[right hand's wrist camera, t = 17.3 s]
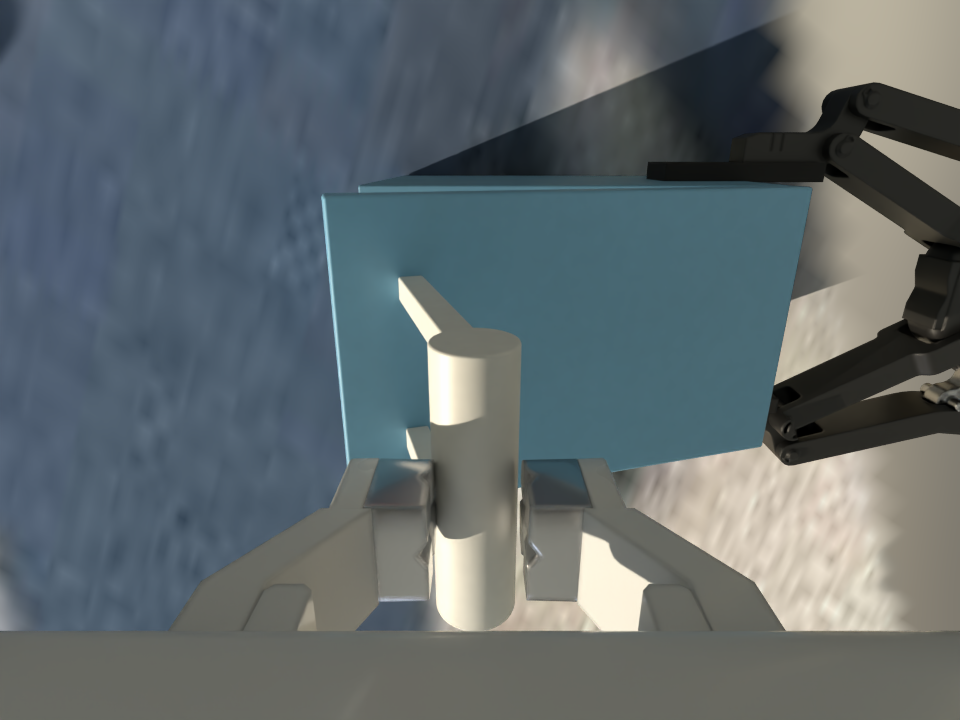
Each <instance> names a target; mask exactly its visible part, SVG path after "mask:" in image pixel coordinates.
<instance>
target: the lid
mask: <svg viewBox="0 0 960 720" xmlns="http://www.w3.org/2000/svg"><path fill="white" fill-rule="evenodd" d="M811 194H812V188H811V187H805V186H787V185H784V186H725V187H666V188H608V189H549V190H490V191H432V192H373V193H324V194H322V197H321V198H322V208H323V218H324V229H325V239H326V250H327V260H328V271H329V281H330V292H331V302H332V313H333V323H334V334H335V344H336V355H337V365H338V376H339V386H340V397H341V407H342V418H343V428H344V439H345V449H346V459H347V466H348V464H349V461H350V460H351V459H354V458H379V459H381V458H384V459H434V461H435V482H436V484H435V492H434V500H435V503H436V515H437V531H436V547H435V576H436V604H437V608H438V611H439V613H440V615H441V616H442V618H443V619H444V620H445V621H446V622H447V623H449V624H450V625H452V626H453V627H455V628H458V629H461V630H464V631H486V630H490V629H493V628H495V627H497V626H499V625H501V624H502V623H503V622H505V621H506V620H507V619H508V617H509V616H510V614H511V613H512V611H513V608H514V603H515V570H516V533H517V495H518V488H520V487H521V463H522V460H538V459H585V458H604V459H605V460H606V462H607V464H608V466H609V469H610V471H611V472H615V471H621V470H627V469H633V468H639V467H644V466H650V465H656V464H662V463H668V462H674V461H680V460H686V459H692V458H698V457H704V456H710V455H715V454H721V453H727V452H733V451H739V450H745V449H751V448H757V447H761V446H762V442H763V437H764V432H765V427H766V422H767V417H768V412H769V407H770V402H771V397H772V392H773V387H774V381H775V376H776V371H777V366H778V361H779V356H780V351H781V346H782V341H783V336H784V331H785V326H786V321H787V316H788V311H789V306H790V300H791V295H792V290H793V285H794V280H795V275H796V270H797V265H798V260H799V255H800V250H801V245H802V240H803V235H804V230H805V225H806V219H807V214H808V209H809V204H810V199H811Z"/></svg>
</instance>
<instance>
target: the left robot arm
mask: <svg viewBox="0 0 960 720" xmlns="http://www.w3.org/2000/svg"><path fill="white" fill-rule="evenodd" d="M863 130H864V131H867V132H870V133H873V134H876V135H880V136H883V137H886V138H889V139H892V140H895V141H898V142H901V143H905V144H908V145H911V146H914V147H917V148H920V149H923V150H927V151H930V152H933V153H936V154H939V155H942V156H945V157H948V158H951V159H954V160H958V161H960V109H957V108H954V107H951V106H948V105H945V104H942V103H939V102H936V101H933V100H930V99H927V98H924V97H921V96H918V95H915V94H912V93H909V92H906V91H903V90H900V89H897V88H893V87H890V86H887V85H884V84H881V83H868V84H863V85H858V86H853V87H848V88H843V89H838V90H835V91H832V92H830V93H829V94H828V95H827V96H826V97H825V99H824V100H823V103H822V115H821V117H820V119H819V121H818V122H817V124H816V125H815V126H814V127H813V128H812V129H811V130H809V131H808V132H785V133H783V132H774V133H773V132H759V133H749V134H743V135H741V136H738V137H736V138H733V139H732V145H731V152H730V159H729V162H648V168H647V178H646V179H651V180H658V181H748V182H823V179H824V176H825V177H827V178H828V179H830V180H831V181H833V182H834V183H836V184H837V185H839V186H840V187H842V188H843V189H845V190H846V191H848V192H849V193H851V194H852V195H854V196H855V197H857V198H858V199H860V200H861V201H863V202H864V203H866V204H867V205H869V206H870V207H872V208H873V209H875V210H876V211H878V212H879V213H881V214H882V215H884V216H885V217H887V218H888V219H890V220H891V221H893V222H894V223H896V224H897V225H899V226H900V227H902V228H903V229H904V230H905V231H904V233H905V234H907V235H908V236H909V237H911V238H912V239H914V240H915V241H917V242H918V243H920V244H921V245H923V246H924V247H926V248H927V249H929V250H928V251H927V253H926V254H920V255H919V258H918V261H917V265H916V269H915V288H914V290H913V291H912V293H911V295H910V297H909V299H908V300H907V302H906V305H905V309H904V313H903V316H902V318H904V320H902V321H899V322H897V323H895V324H893V325H891V326H888V327H886V328H884V329H882V330H880V331H879V332H878V334H877V338H875V339H874V340H871V341H869V342H867V343H865V344H863V345H861V346H858V347H856V348H854V349H852V350H850V351H848V352H845V353H843V354H841V355H839V356H837V357H835V358H832V359H830V360H828V361H826V362H824V363H822V364H820V365H817V366H815V367H813V368H811V369H809V370H807V371H804V372H802V373H800V374H798V375H796V376H794V377H791V378H789V379H787V380H785V381H783V382H781V383H779V384H776V385H774V387H773V392H772V397H771V402H770V407H769V412H768V417H767V422H766V427H765V432H764V437H763V443H764V444H765V445H766V446H767V447H768V448H769V449H770V450H771V451H772V452H773V453H774V454H775V455H776V456H777V457H778V458H779V459H780V460H781V462H783V463H784V464H785V465H789V466H790V465H797V464H801V463H806V462H810V461H815V460H819V459H824V458H828V457H833V456H837V455H842V454H846V453H851V452H855V451H860V450H864V449H869V448H873V447H878V446H882V445H886V444H891V443H896V442H900V441H904V440H909V439H913V438H918V437H922V436H927V435H931V434H936V433H946V434H959V435H960V207H959V206H958V205H956V204H955V203H954V202H952V201H951V200H949V199H948V198H946V197H945V196H943V195H942V194H941V193H939V192H938V191H936V190H935V189H933V188H932V187H930V186H929V185H928V184H926V183H925V182H923V181H922V180H920V179H919V178H917V177H916V176H914V175H913V174H912V173H910V172H909V171H907V170H906V169H904V168H903V167H901V166H900V165H899V164H897V163H896V162H894V161H893V160H891V159H890V158H888V157H887V156H886V155H884V154H882V153H881V152H880V151H878V150H877V149H875V148H874V147H872V146H871V145H870V144H868V143H867V142H865V141H864V140H862V139H861V138H859V137H860V135H861V133H862V131H863ZM951 368H952V369H954V370H955V372H954V374H953V376H952V377H951V378H950V379H948V380H947V381H945V382H941V383H936V384H933V385H932V384H930V383H925V384H923V385H922V386H921V388H920V391H907V392H899V393H893V394H889V395H885V396H880V397H876V398H872V399H867V400H864V399H866V398H868V397H870V396H873V395H875V394H877V393H879V392H882V391H884V390H886V389H888V388H891V387H893V386H895V385H897V384H900V383H902V382H904V381H906V380H909V379H911V378H913V377H915V376H919V375H936V374H939V373H941V372H944V371H946V370H948V369H951ZM861 400H863V401H861Z"/></svg>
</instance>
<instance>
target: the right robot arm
mask: <svg viewBox="0 0 960 720" xmlns="http://www.w3.org/2000/svg"><path fill="white" fill-rule="evenodd" d="M435 484H436V482H435V461H434V459H384V458H381V459H379V458H354V459H351V460H350V461H349V464H348V466H347V468H346V470H345V473H344V475H343V477H342V480H341V482H340V484H339V487H338V489H337V491H336V493H335V496H334V498H333V500H332V503H331V505H330V507H329V508H321V509H319V510H317V511H316V512H314V513H312V514H311V515H309V516H308V517H306V518H304V519H303V520H301V521H299V522H298V523H296V524H294V525H293V526H291V527H289V528H288V529H286V530H285V531H283V532H281V533H280V534H278V535H276V536H275V537H273V538H271V539H270V540H268V541H266V542H265V543H263V544H262V545H260V546H258V547H257V548H255V549H253V550H252V551H250V552H248V553H247V554H245V555H244V556H242V557H240V558H239V559H237V560H235V561H234V562H232V563H230V564H229V565H227V566H225V567H224V568H222V569H221V570H219V571H217V572H216V573H214V574H212V575H211V576H209V577H207V578H206V579H204V580H202V581H201V582H200V584H199V585H198V587H197V588H196V590H195V591H194V593H193V594H192V596H191V597H190V599H189V600H188V602H187V603H186V605H185V606H184V608H183V609H182V611H181V612H180V614H179V615H178V617H177V618H176V620H175V621H174V623H173V624H172V626H171V627H170V629H169V630H168V631H0V720H960V631H786V630H785V629H784V627H783V626H782V624H781V623H780V621H779V620H778V618H777V617H776V615H775V613H774V612H773V610H772V609H771V607H770V606H769V604H768V603H767V601H766V599H765V598H764V596H763V595H762V593H761V592H760V590H759V589H758V587H757V586H756V584H755V582H753V581H752V580H750V579H748V578H747V577H745V576H743V575H742V574H740V573H739V572H737V571H735V570H734V569H732V568H730V567H729V566H727V565H726V564H724V563H722V562H721V561H719V560H718V559H716V558H714V557H713V556H711V555H709V554H708V553H706V552H705V551H703V550H701V549H700V548H698V547H696V546H695V545H693V544H692V543H690V542H688V541H687V540H685V539H683V538H682V537H680V536H679V535H677V534H675V533H674V532H672V531H671V530H669V529H667V528H666V527H664V526H662V525H661V524H659V523H658V522H656V521H654V520H653V519H651V518H649V517H648V516H646V515H645V514H643V513H641V512H640V511H638V510H636V509H635V508H626V506H625V504H624V501H623V499H622V497H621V494H620V492H619V490H618V487H617V485H616V483H615V480H614V478H613V476H612V473H611V471H610V469H609V466H608V464H607V462H606V460H605V459H604V458H585V459H538V460H522V463H521V489H522V498H523V499H522V500H521V501H520V543H521V554H522V555H523V556H524V566H523V573H524V581H525V590H526V598H527V600H539V601H575V602H577V604H578V605H579V607H580V608H581V609H582V610H583V611H584V612H585V613H586V614H587V616H588V617H589V618H590V619H591V620H592V621H593V622H594V623H595V624H596V626H597V627H598V628H599V629H600V630H601V631H355V630H356V629H357V628H358V627H359V626H360V624H361V623H362V622H363V621H364V620H365V619H366V618H367V617H368V616H369V615H370V613H371V612H372V611H373V610H374V609H375V608H376V607H377V606H378V605H379V602H381V601H416V600H429V598H430V590H431V582H432V574H433V563H432V556H433V555H434V554H435V547H436V531H437V515H436V503H435V500H434V492H435Z"/></svg>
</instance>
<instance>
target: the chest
mask: <svg viewBox="0 0 960 720" xmlns="http://www.w3.org/2000/svg"><path fill="white" fill-rule="evenodd" d="M646 178H647V176H400V177H396V178H391V179H386V180H382V181H377V182H372V183H368V184H363V185H359V193H373V192H432V191H490V190H549V189H608V188H666V187H725V186H784V185H781V184H770V183H759V182H748V181H658V180H651V179H646ZM787 186H788V185H787Z"/></svg>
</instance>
